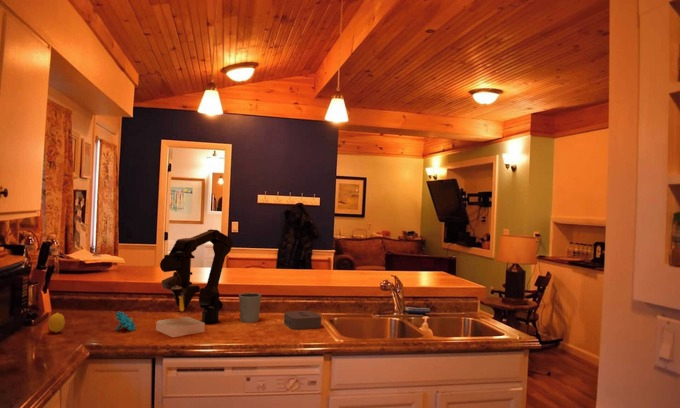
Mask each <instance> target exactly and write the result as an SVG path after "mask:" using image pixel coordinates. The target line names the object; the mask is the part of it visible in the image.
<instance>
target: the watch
mask: <svg viewBox="0 0 680 408" xmlns="http://www.w3.org/2000/svg"><path fill="white" fill-rule="evenodd" d="M179 298H180V301H179V306H178V307H179V311H180V312H184V310H185V309H184V304H183V296H179Z"/></svg>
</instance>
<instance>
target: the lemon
mask: <svg viewBox="0 0 680 408" xmlns="http://www.w3.org/2000/svg"><path fill="white" fill-rule="evenodd" d="M65 323H66V321H65V316H64V315H63V314H62V313H59V312H56V313H53V314H52V315H51V316H50V317H49V319H48V323H47V324H48V328H49V330H50V331H51V332H53V333H55V334H58V332H59V331H62V330H63V328H64V327H65Z"/></svg>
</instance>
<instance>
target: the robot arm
mask: <svg viewBox="0 0 680 408" xmlns="http://www.w3.org/2000/svg"><path fill="white" fill-rule="evenodd" d="M209 242H210V243H211V244H213V245H212V251H213V253H214V256H213V259H212V263H211V267H210V270H209V274H208V278H207V283H206V285H205V286H204V287H201V286H200V285H198V284H194V283H193V282H192V281H191V276H192V275H193V272H192V271H191V266H192V259H195V255H193V253H194V252H195V251H196V250H197V249H198V247H200V246H202V245H204V244H206V243H209ZM233 243H234V241H233V240H232V238H231V237H230V236H228V235H226V234H225V233H222V232H221V231H220V230H218V229H211V228H210V229H207V231H204V232H201V233H199V234H198V235H197V234H196V235H195V236H192V237H184V238H179V239H177V240H175V243H174V244H173V246H172V248H171V250H170V252H169V253H168V254H164V257H163V258H162V259H161V260H160V263H159V267H160V269H161V271H162V272H163V273H169V272H173V273H172V274H173V275H172V276H169V277H167V278H164V279H162V280H161V284H162V288H163V289H166V290H169V291H170V292H171V293H172V294H173V297H174V301H175V305H176V306H177V307H179V301H180V298H179V296H183V304H184V310H185V309H187V308H188V307H189V305H190V303H191V301H192V299H193V298H194V297H195V294H197V293H198V294H199V295H198V302H199V307H200V309H202V313H201V320H200V321H201V322H203V323H205V324H206V325H213V324H218V323H221V321H220V320H219V319H220V318H219V317H220V316H219V315H220V310H222V309H223V307H224V303H223V302H222V301H221V300H220V292H219V288H218V287H219V283H220V279H221V276H222V272H223V269H224V264H225V263H224V262H225V260H226V257H227V256H228V255H229V253H231V250H232V248H233Z"/></svg>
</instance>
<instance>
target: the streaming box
mask: <svg viewBox="0 0 680 408" xmlns="http://www.w3.org/2000/svg"><path fill="white" fill-rule="evenodd" d="M283 324H284V325H285V326H287V327H288V328H289V329H291V330H310V329H320V328H321V327H322V315H320V314H318V313H317V312H315V311H314V310H293V311H284V317H283Z"/></svg>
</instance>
